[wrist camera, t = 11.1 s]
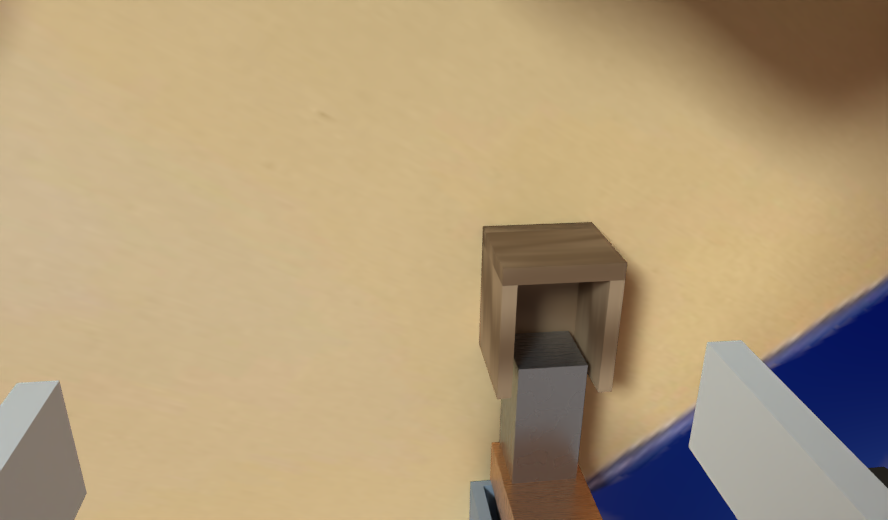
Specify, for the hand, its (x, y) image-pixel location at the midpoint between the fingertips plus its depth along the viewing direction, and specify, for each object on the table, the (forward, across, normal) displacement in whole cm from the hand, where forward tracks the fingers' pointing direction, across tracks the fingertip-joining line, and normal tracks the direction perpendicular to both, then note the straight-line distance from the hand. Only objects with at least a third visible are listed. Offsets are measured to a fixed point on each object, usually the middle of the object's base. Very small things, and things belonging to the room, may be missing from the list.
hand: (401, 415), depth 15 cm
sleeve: (+27, +10, -10) cm, 30 cm away
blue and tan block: (+25, +10, -20) cm, 34 cm away
